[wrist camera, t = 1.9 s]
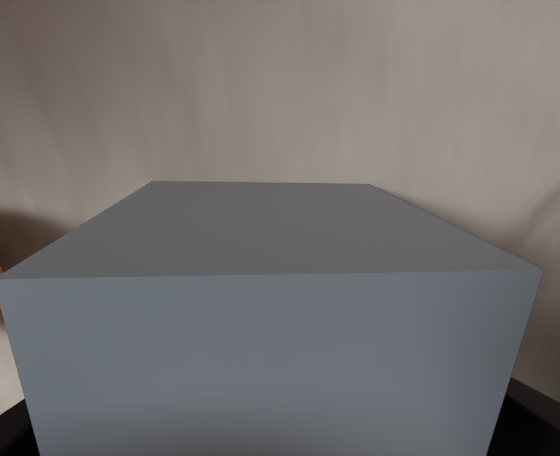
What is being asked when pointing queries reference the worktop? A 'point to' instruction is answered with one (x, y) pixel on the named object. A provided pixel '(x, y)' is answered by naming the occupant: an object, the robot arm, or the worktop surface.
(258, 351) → the plain gray cube
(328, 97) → the worktop surface
